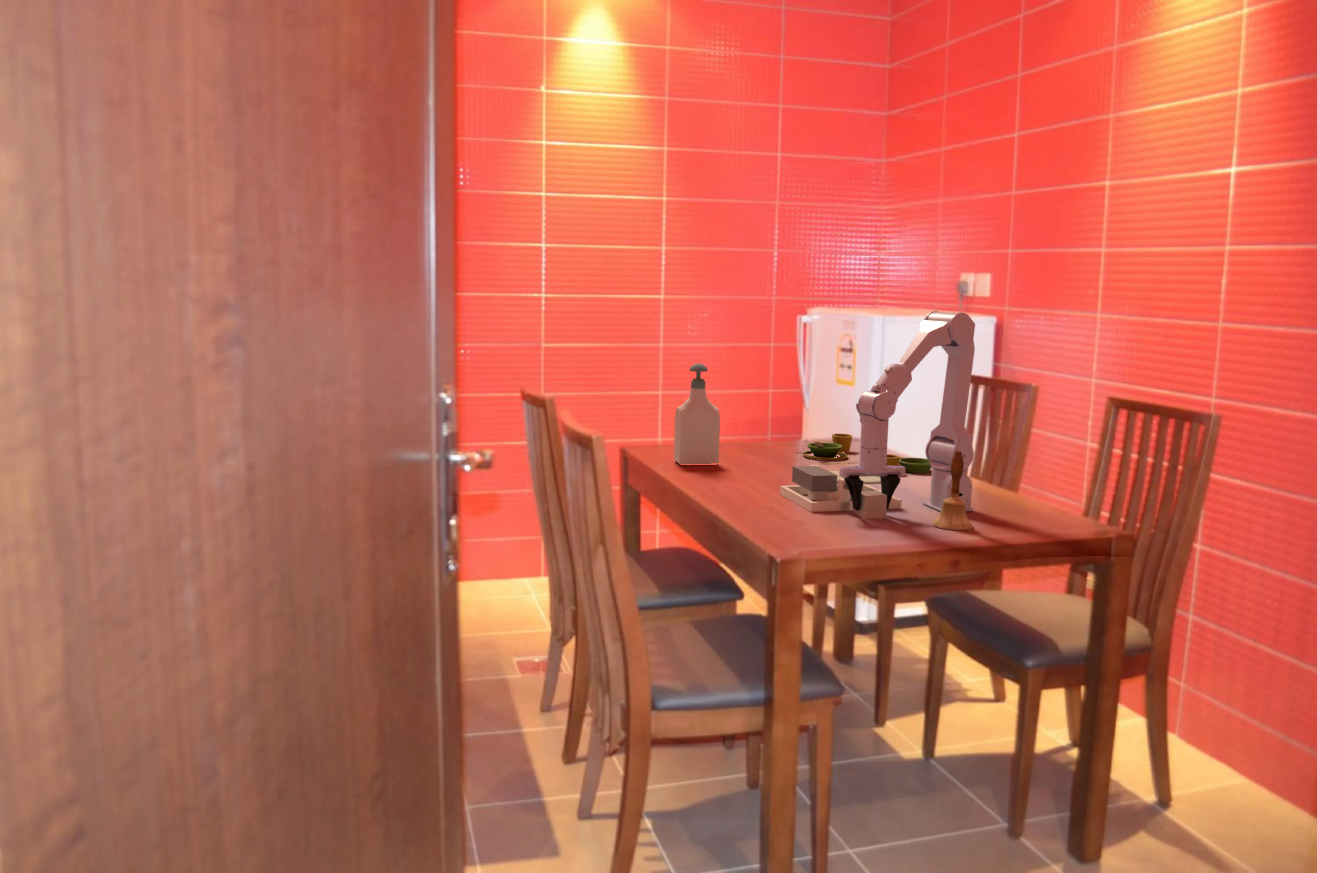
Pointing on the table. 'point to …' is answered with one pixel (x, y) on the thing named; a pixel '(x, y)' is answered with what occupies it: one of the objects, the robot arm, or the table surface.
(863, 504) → the beige cube
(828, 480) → the trapdoor
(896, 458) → the tableware set
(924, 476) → the table surface
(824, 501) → the frame
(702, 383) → the soap bottle
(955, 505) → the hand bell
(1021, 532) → the table surface
